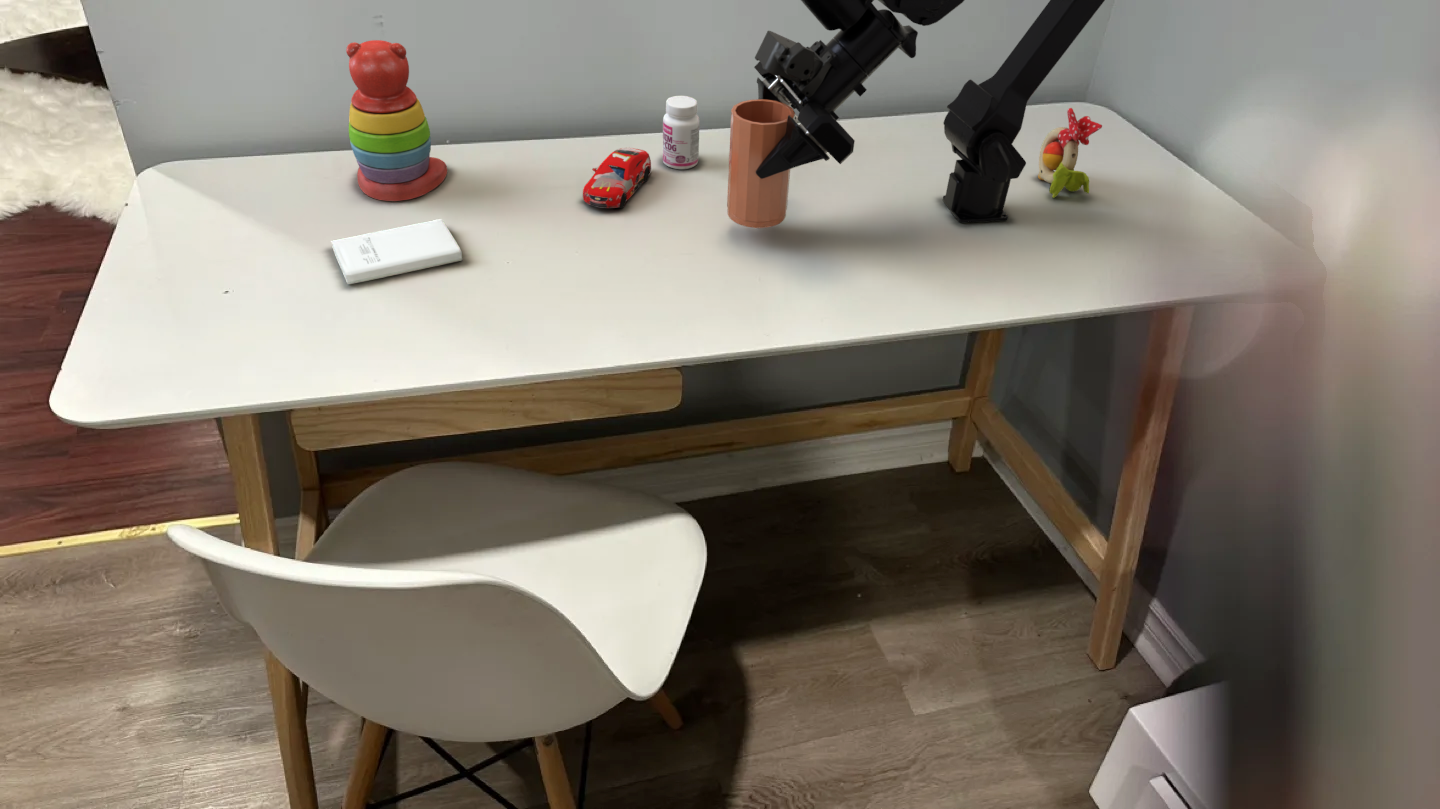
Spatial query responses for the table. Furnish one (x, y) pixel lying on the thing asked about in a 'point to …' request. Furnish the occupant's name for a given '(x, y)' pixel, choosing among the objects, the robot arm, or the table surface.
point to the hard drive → (396, 251)
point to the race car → (617, 178)
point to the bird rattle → (1065, 154)
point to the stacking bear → (389, 125)
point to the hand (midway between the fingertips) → (748, 161)
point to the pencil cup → (756, 163)
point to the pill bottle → (681, 133)
